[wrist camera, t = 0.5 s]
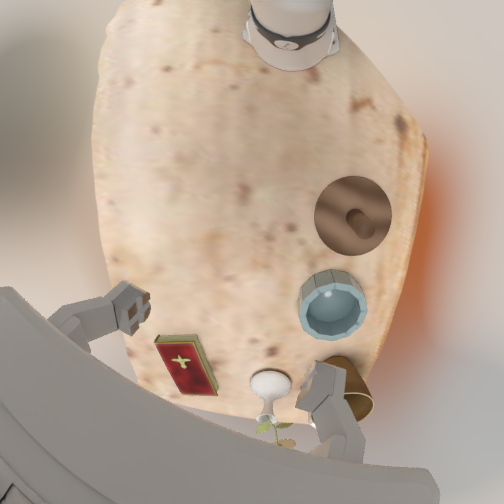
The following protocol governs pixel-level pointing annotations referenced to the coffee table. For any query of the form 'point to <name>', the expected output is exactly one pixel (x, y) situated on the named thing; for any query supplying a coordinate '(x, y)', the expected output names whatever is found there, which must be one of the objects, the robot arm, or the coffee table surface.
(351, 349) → the coffee table surface
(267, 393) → the flower in vase
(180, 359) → the hardcover book
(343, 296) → the ceramic bowl
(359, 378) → the plant pot
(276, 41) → the robot arm
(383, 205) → the walnut lid
